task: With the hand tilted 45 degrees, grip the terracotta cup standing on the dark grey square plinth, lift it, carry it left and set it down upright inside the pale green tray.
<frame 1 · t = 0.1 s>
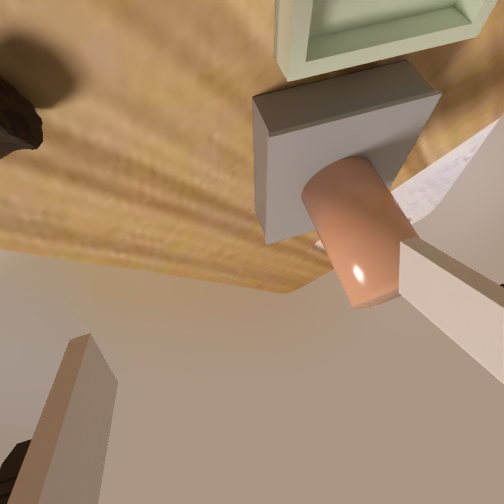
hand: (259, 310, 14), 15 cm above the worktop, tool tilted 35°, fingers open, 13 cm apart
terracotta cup: (336, 184, 28), point 4 cm above the worktop, touching grey square plinth
grey square plinth: (317, 149, 30), on the worktop
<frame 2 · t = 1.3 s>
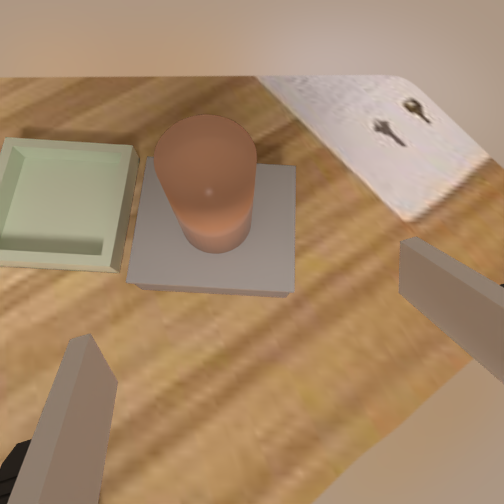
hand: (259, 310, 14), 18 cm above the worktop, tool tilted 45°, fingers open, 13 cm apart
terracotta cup: (216, 220, 30), point 4 cm above the worktop, touching grey square plinth
tray: (67, 209, 34), on the worktop
grey square plinth: (219, 236, 34), on the worktop
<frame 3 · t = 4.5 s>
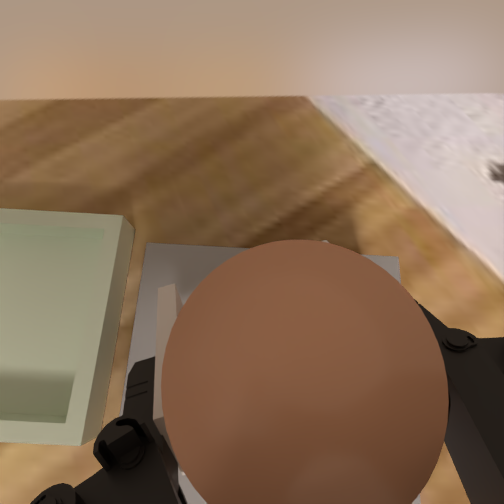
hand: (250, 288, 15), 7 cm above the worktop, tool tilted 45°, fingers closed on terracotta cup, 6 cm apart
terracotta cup: (269, 364, 17), point 4 cm above the worktop, touching gripper, grey square plinth
tray: (18, 317, 21), on the worktop
grey square plinth: (264, 362, 21), on the worktop
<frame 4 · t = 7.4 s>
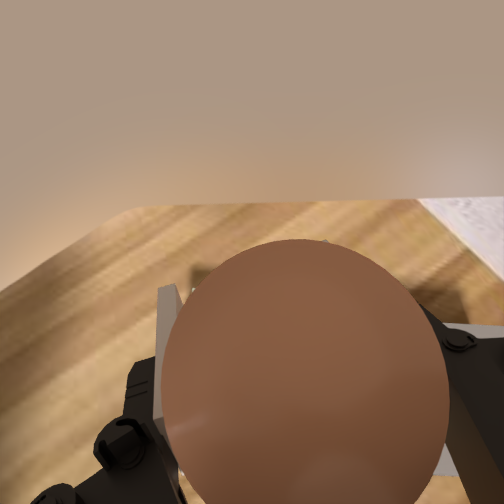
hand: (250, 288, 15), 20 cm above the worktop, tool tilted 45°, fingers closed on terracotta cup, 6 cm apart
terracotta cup: (269, 364, 17), point 17 cm above the worktop, touching gripper
grey square plinth: (412, 389, 33), on the worktop
when the fingers open (5 cm above the worktop, at t = 10.4 s): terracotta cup drops 2 cm, resting on tray.
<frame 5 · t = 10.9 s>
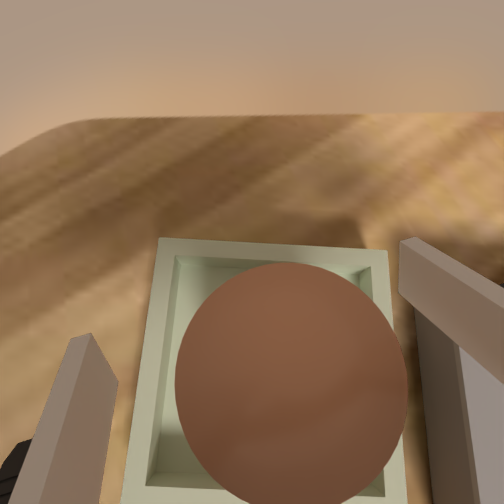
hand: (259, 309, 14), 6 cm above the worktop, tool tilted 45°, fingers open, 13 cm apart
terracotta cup: (266, 364, 19), point 1 cm above the worktop, touching tray
tray: (266, 363, 19), on the worktop
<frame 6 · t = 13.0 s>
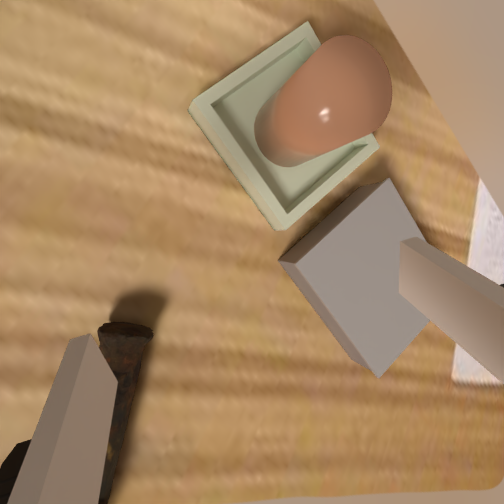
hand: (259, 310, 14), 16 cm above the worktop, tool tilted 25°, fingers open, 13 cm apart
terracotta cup: (286, 132, 31), point 1 cm above the worktop, touching tray
tray: (284, 134, 31), on the worktop
grey square plinth: (355, 274, 35), on the worktop
hand tool: (110, 429, 28), on the worktop
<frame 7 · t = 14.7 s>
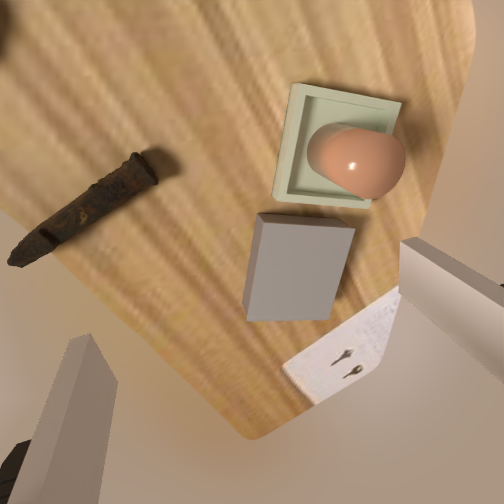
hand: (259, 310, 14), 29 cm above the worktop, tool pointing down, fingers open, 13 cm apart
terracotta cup: (330, 150, 41), point 1 cm above the worktop, touching tray
tray: (329, 149, 42), on the worktop
grey square plinth: (289, 261, 47), on the worktop
hand tool: (87, 211, 38), on the worktop
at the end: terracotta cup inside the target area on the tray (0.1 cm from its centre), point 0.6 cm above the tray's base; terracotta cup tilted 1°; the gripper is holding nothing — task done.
